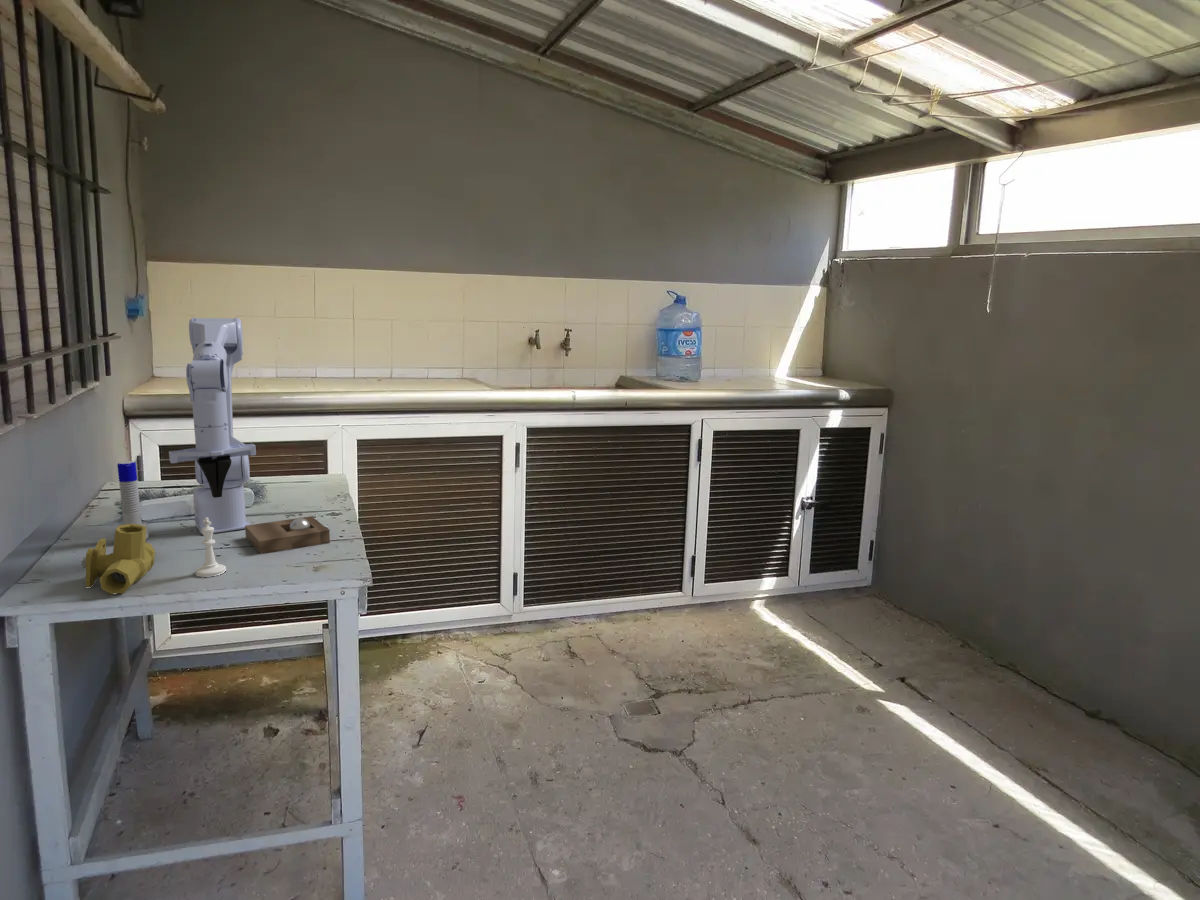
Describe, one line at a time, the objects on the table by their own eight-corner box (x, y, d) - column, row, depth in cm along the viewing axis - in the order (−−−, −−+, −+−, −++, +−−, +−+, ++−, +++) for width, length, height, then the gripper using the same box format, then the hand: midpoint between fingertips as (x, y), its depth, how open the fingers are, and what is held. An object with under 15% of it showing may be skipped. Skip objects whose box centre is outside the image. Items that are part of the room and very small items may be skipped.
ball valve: (158, 572, 144) (96, 568, 142) (161, 518, 142) (98, 512, 140) (133, 603, 132) (65, 598, 130) (136, 544, 130) (66, 538, 128)
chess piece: (206, 579, 139) (201, 523, 137) (189, 574, 141) (184, 518, 139) (232, 571, 143) (228, 516, 141) (215, 566, 145) (211, 512, 144)
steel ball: (316, 521, 163) (309, 538, 161) (308, 526, 165) (301, 543, 163) (298, 512, 161) (290, 529, 159) (290, 517, 164) (282, 535, 161)
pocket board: (260, 554, 152) (259, 541, 152) (245, 537, 162) (245, 525, 161) (329, 542, 160) (329, 530, 159) (312, 527, 169) (311, 516, 169)
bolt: (142, 543, 157) (114, 544, 157) (153, 536, 162) (126, 536, 162) (134, 465, 154) (106, 465, 154) (145, 459, 159) (118, 459, 159)
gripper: (170, 431, 143) (177, 506, 145) (257, 424, 151) (262, 495, 154) (164, 425, 148) (171, 497, 151) (249, 419, 157) (253, 488, 159)
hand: (216, 496), depth 153 cm, fingers closed
